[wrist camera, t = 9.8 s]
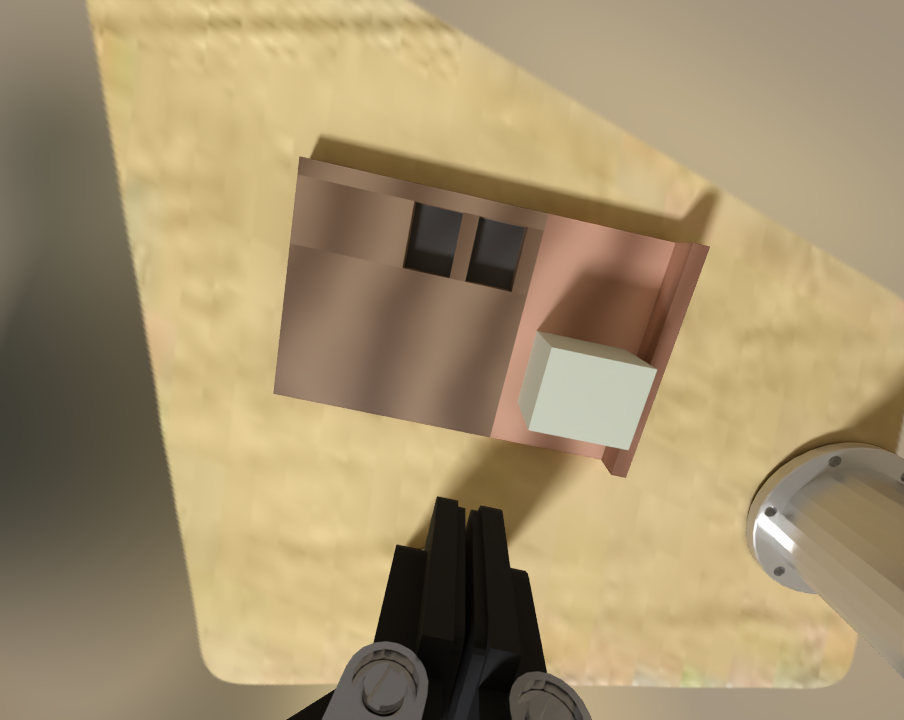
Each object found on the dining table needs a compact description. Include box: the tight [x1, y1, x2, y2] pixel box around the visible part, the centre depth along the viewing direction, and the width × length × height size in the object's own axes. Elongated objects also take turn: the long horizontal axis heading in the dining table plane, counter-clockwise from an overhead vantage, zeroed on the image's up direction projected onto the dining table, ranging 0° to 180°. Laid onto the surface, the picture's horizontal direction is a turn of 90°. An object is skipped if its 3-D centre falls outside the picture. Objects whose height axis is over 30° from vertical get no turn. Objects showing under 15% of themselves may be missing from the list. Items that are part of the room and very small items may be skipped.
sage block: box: [517, 331, 657, 450], centre depth 26 cm, size 6×5×4 cm
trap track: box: [273, 157, 710, 478], centre depth 27 cm, size 24×15×4 cm, turn 78°
